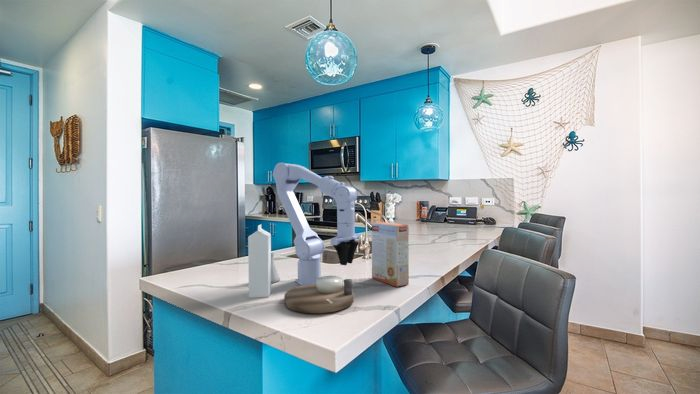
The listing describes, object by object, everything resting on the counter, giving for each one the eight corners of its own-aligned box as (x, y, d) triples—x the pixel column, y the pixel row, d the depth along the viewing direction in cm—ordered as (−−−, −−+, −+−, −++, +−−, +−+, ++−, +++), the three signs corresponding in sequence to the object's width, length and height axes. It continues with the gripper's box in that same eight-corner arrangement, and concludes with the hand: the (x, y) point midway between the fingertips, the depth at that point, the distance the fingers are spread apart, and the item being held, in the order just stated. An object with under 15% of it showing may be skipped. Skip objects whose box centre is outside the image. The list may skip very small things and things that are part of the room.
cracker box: (409, 284, 109) (409, 224, 109) (396, 287, 106) (396, 225, 106) (384, 275, 121) (383, 221, 121) (371, 278, 118) (371, 222, 117)
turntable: (276, 295, 97) (276, 276, 97) (336, 286, 106) (336, 268, 106) (296, 318, 79) (296, 294, 79) (365, 305, 88) (365, 283, 88)
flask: (274, 284, 111) (274, 256, 111) (255, 283, 112) (255, 255, 112) (283, 278, 118) (282, 252, 118) (265, 277, 120) (264, 251, 119)
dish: (312, 287, 99) (312, 277, 99) (336, 283, 102) (336, 274, 102) (322, 294, 92) (322, 284, 92) (347, 290, 95) (346, 280, 95)
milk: (248, 298, 97) (247, 226, 96) (252, 292, 103) (251, 224, 102) (269, 297, 97) (267, 225, 97) (271, 291, 103) (270, 223, 103)
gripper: (343, 225, 96) (343, 270, 96) (367, 221, 108) (367, 261, 108) (325, 224, 100) (325, 267, 100) (350, 220, 112) (350, 258, 112)
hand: (346, 263), depth 105 cm, fingers open, 3 cm apart
